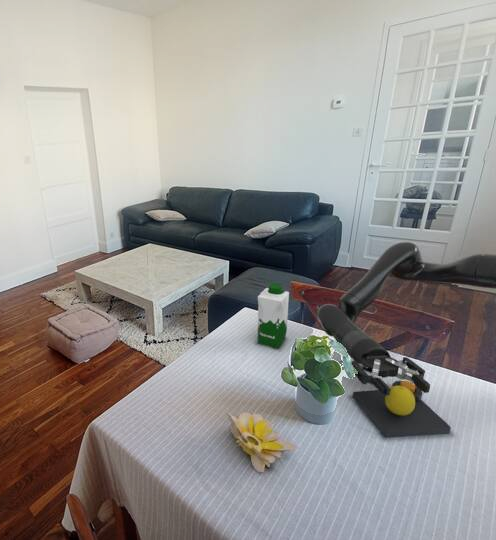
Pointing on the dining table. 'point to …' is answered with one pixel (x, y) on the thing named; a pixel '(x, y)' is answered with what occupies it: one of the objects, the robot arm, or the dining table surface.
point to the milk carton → (272, 316)
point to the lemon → (400, 400)
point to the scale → (397, 425)
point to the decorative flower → (258, 439)
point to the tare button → (408, 385)
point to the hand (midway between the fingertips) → (408, 391)
